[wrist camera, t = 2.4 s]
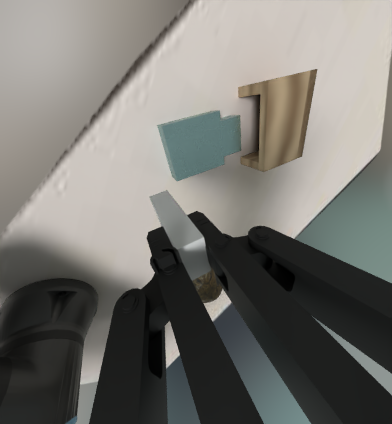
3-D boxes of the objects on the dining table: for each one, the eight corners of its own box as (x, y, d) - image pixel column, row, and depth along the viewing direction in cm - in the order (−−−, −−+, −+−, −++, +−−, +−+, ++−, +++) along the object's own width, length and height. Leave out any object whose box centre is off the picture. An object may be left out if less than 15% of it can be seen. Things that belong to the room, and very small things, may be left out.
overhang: (240, 163, 37) (264, 171, 32) (238, 87, 29) (268, 80, 24) (274, 151, 40) (301, 156, 34) (281, 77, 32) (317, 68, 26)
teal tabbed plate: (171, 176, 32) (176, 181, 29) (157, 125, 27) (161, 125, 24) (232, 155, 35) (241, 158, 33) (229, 106, 30) (239, 105, 28)
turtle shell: (203, 318, 51) (166, 319, 36) (190, 292, 57) (153, 284, 42) (242, 284, 51) (221, 270, 36) (224, 262, 57) (200, 242, 42)
